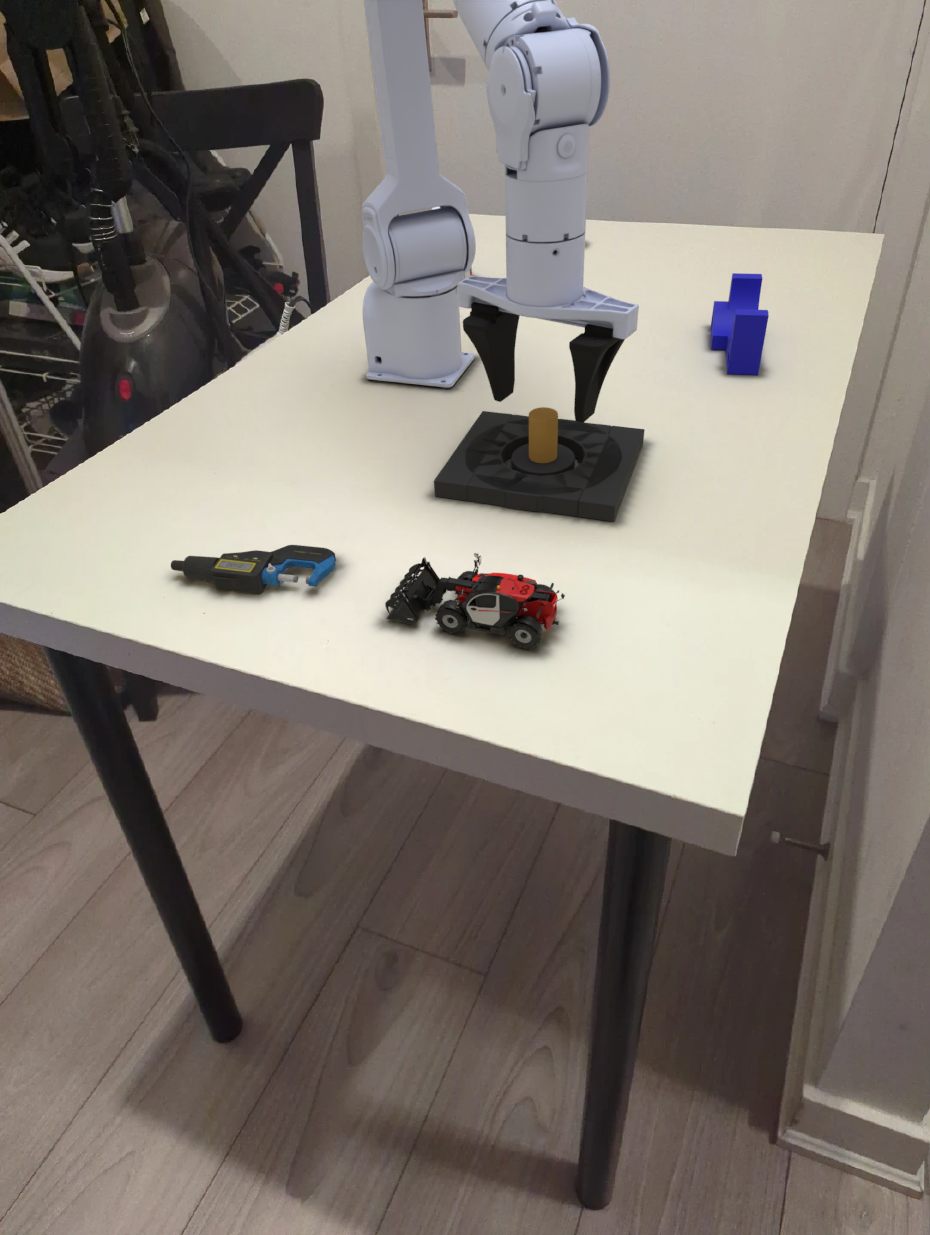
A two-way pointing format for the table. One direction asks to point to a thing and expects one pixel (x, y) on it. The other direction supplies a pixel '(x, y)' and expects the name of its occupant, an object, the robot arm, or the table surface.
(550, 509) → the socket pad
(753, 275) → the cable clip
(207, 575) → the micrometer
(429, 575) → the loader
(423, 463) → the table surface
